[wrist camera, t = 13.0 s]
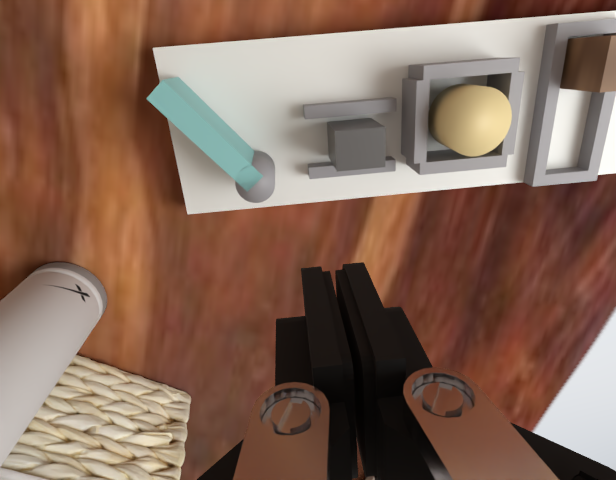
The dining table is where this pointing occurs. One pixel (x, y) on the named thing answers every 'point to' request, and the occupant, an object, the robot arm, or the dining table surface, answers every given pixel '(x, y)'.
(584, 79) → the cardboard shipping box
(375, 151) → the grey rectangular block
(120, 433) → the storage basket
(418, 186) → the board
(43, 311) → the travel mug
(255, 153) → the teal lever handle
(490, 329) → the dining table surface
